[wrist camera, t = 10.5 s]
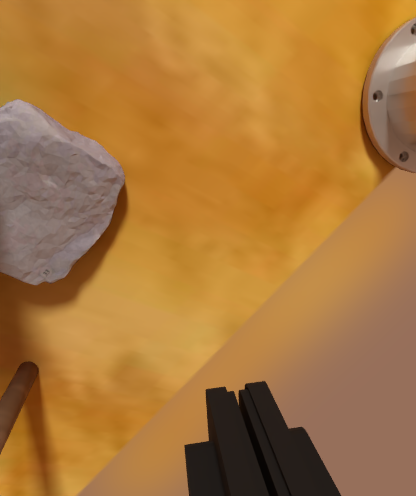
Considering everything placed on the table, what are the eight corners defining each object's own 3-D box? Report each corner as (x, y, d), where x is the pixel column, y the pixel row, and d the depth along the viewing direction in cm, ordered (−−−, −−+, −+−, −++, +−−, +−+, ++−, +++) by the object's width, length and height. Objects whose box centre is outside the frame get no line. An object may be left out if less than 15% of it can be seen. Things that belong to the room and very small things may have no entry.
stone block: (134, 162, 32) (12, 88, 28) (143, 174, 28) (1, 89, 24) (64, 279, 34) (-61, 227, 30) (63, 306, 30) (-82, 251, 26)
